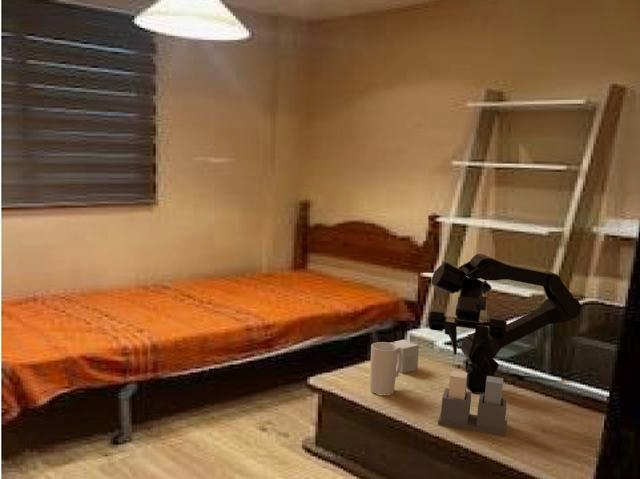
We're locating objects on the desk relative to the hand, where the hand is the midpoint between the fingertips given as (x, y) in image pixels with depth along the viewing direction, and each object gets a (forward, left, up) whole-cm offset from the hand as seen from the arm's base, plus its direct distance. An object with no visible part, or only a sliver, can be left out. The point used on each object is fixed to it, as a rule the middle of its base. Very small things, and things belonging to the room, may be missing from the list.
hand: (462, 355), depth 150 cm
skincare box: (+7, -27, -14) cm, 31 cm away
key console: (0, +9, -14) cm, 16 cm away
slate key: (-4, +10, -9) cm, 14 cm away
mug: (+15, -12, -14) cm, 24 cm away
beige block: (+3, +7, -9) cm, 12 cm away
